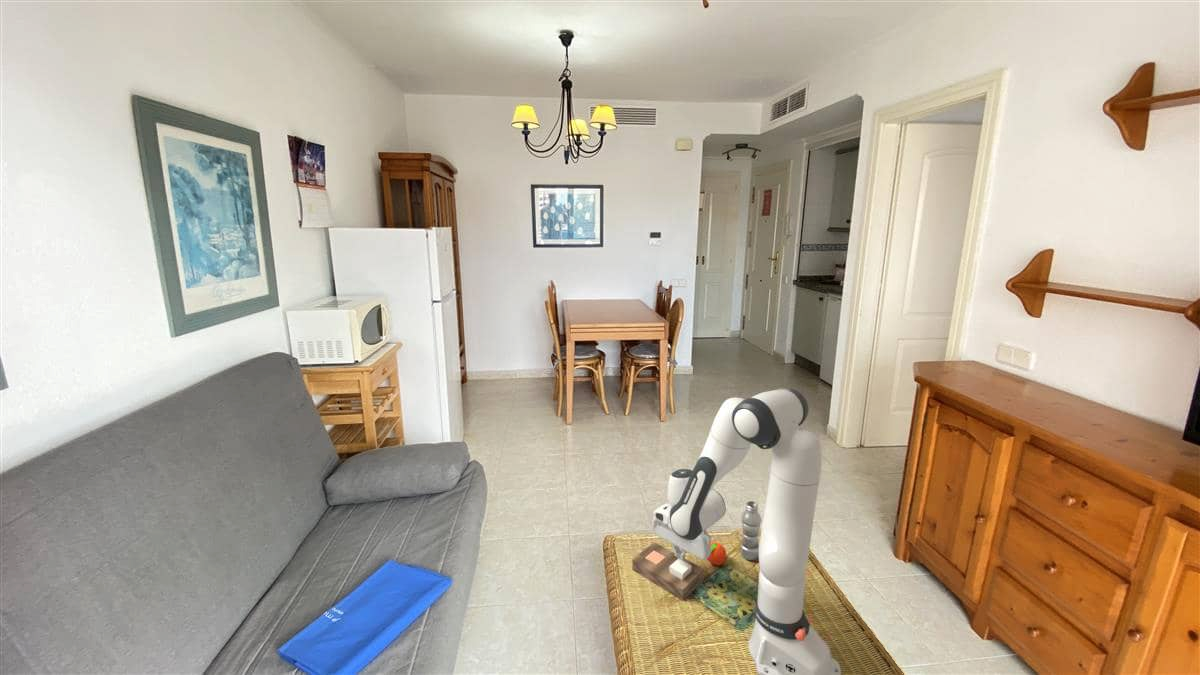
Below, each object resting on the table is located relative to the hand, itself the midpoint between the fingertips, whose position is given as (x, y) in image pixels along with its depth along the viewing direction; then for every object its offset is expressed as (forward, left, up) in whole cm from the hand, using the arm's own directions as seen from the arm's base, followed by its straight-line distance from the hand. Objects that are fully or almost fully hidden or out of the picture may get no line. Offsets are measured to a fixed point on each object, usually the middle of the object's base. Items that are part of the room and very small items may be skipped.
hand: (679, 557), depth 151 cm
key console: (+5, 0, -9) cm, 10 cm away
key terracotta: (+10, 0, -8) cm, 12 cm away
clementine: (-4, -15, -9) cm, 18 cm away
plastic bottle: (-11, -26, -9) cm, 30 cm away
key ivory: (0, 0, -6) cm, 6 cm away
